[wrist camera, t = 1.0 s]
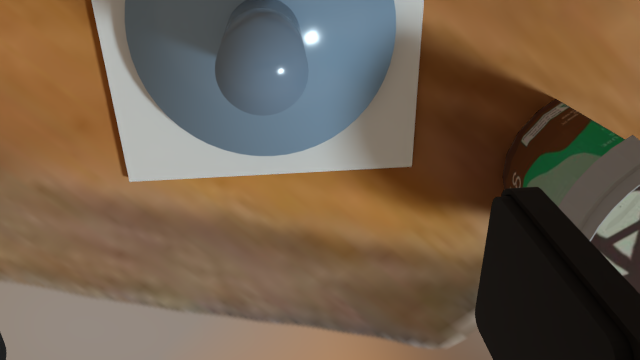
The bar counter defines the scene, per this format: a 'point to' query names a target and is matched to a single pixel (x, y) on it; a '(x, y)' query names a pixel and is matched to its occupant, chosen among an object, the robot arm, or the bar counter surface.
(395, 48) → the mat
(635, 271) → the food container
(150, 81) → the lid
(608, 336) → the robot arm
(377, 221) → the bar counter surface
